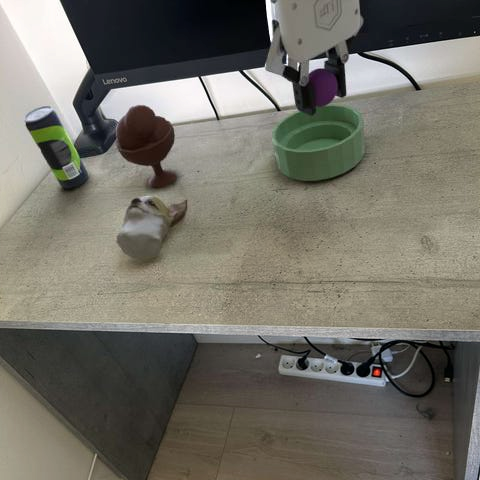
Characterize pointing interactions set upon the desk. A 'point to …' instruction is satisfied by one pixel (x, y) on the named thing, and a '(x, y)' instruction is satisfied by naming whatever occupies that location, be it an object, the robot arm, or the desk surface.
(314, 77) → the ball
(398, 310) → the desk surface
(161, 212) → the ceramic sculpture
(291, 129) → the green bowl
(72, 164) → the beverage can
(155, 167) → the ice cream bowl
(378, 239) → the desk surface
